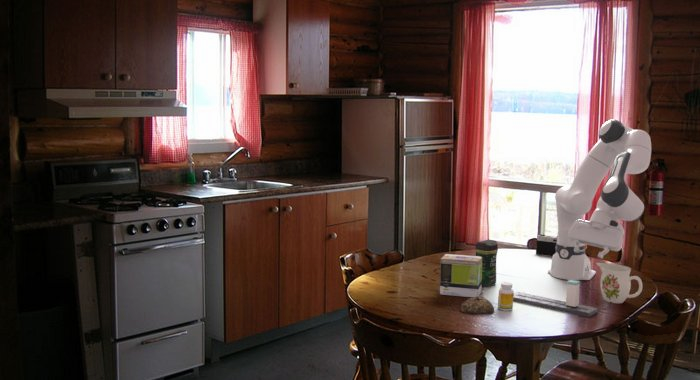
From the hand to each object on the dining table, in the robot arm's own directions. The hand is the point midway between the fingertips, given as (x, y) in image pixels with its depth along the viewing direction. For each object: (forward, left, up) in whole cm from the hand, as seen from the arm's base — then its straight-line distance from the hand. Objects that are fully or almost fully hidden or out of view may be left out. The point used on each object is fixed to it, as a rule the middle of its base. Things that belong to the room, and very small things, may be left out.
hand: (587, 254), depth 274 cm
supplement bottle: (+27, -19, -19) cm, 38 cm away
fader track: (+11, -8, -19) cm, 24 cm away
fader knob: (+11, 0, -17) cm, 21 cm away
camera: (-71, -46, -19) cm, 86 cm away
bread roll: (+34, -27, -20) cm, 48 cm away
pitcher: (-12, +8, -19) cm, 24 cm away
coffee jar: (+1, -42, -19) cm, 46 cm away
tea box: (+20, -42, -19) cm, 51 cm away
